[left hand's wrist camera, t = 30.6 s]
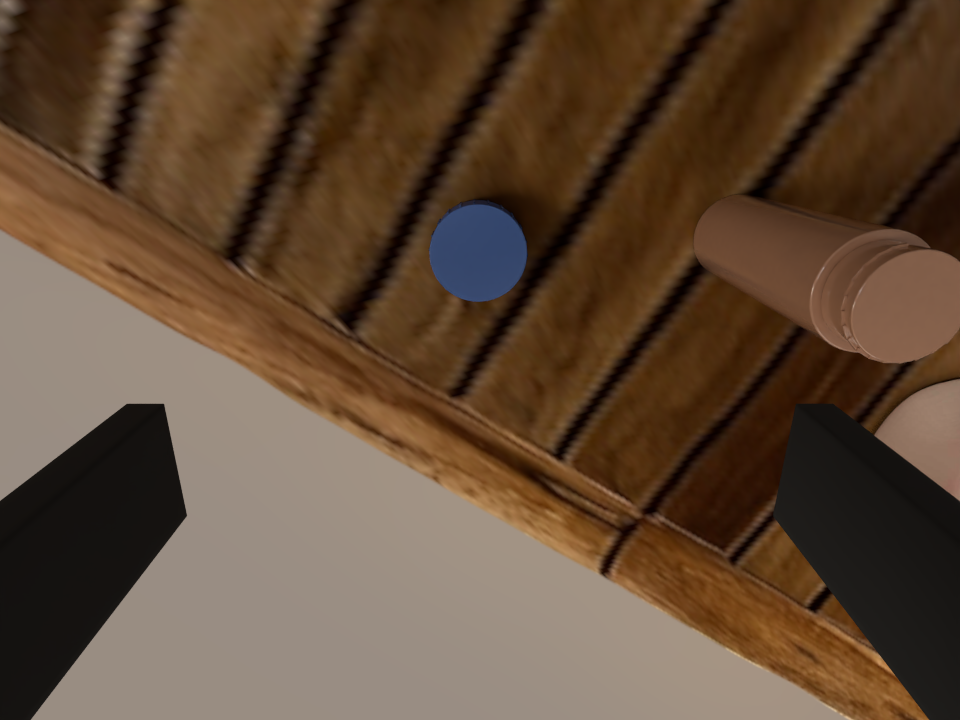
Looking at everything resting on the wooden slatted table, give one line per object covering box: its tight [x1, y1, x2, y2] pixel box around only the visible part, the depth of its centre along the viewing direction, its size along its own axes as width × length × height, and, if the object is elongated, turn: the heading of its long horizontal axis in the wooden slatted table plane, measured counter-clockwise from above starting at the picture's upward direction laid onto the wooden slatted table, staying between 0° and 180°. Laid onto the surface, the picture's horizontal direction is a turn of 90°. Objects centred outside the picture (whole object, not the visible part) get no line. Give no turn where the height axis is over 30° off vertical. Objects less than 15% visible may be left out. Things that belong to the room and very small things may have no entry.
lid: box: [429, 199, 528, 302], centre depth 37 cm, size 6×6×2 cm
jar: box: [694, 194, 960, 363], centre depth 30 cm, size 5×5×17 cm
